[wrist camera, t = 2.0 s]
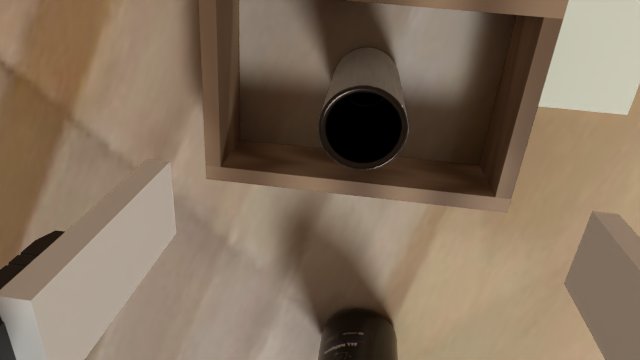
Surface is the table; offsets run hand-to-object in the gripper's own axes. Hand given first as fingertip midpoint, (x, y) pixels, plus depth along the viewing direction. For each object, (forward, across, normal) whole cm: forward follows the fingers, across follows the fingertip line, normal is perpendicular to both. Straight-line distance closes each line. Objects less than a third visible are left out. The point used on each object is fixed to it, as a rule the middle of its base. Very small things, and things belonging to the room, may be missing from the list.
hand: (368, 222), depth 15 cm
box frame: (+19, -1, 0) cm, 19 cm away
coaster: (+20, +13, +3) cm, 24 cm away
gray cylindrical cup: (+20, -1, 0) cm, 20 cm away
